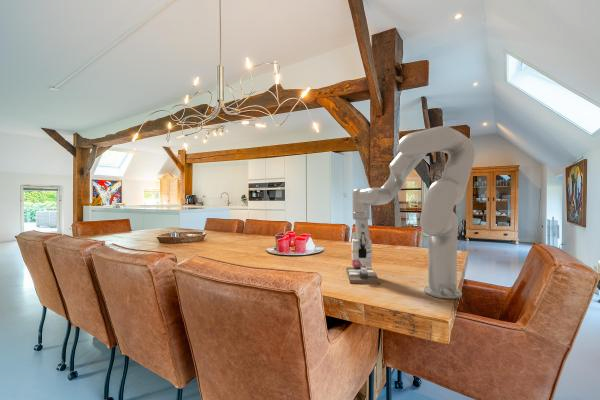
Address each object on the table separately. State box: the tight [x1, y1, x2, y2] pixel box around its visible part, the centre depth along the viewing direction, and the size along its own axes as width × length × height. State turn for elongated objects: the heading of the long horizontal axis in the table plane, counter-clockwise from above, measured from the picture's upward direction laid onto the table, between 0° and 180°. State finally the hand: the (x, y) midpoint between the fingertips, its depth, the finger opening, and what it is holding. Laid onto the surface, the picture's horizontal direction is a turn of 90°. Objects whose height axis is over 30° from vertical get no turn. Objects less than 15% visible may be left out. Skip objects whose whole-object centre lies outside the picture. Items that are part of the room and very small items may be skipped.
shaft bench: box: [345, 266, 380, 285], centre depth 131 cm, size 21×12×6 cm, turn 175°
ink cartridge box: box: [351, 231, 373, 268], centre depth 131 cm, size 9×5×15 cm, turn 84°
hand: (361, 256), depth 131 cm, fingers closed on ink cartridge box, 5 cm apart
